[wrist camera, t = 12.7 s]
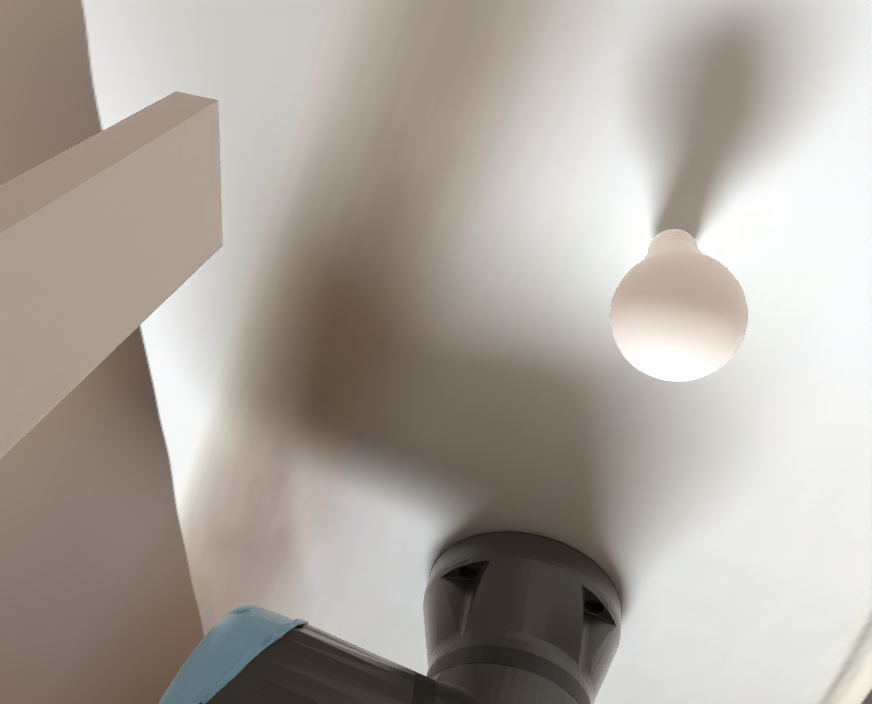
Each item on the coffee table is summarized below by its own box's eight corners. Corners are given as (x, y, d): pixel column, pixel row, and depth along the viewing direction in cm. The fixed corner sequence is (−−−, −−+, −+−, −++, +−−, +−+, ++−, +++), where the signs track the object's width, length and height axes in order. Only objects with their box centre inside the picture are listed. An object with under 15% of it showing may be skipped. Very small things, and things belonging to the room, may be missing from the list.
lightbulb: (644, 174, 41) (644, 268, 32) (753, 215, 41) (784, 321, 32) (597, 270, 44) (585, 378, 35) (697, 307, 44) (711, 426, 35)
